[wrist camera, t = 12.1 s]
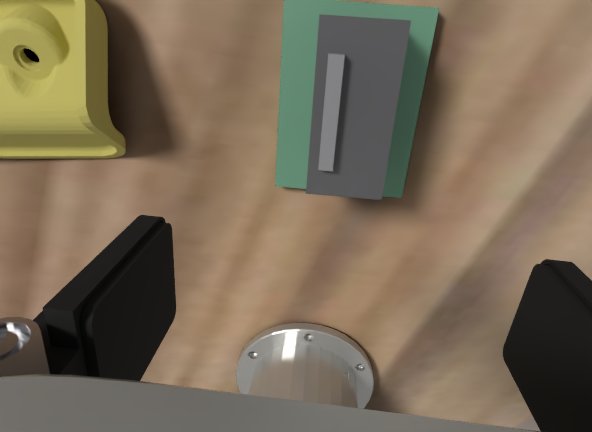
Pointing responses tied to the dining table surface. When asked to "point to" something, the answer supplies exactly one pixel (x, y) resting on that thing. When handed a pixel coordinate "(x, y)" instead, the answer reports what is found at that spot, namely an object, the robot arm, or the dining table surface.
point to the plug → (354, 104)
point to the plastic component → (55, 81)
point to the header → (301, 73)
